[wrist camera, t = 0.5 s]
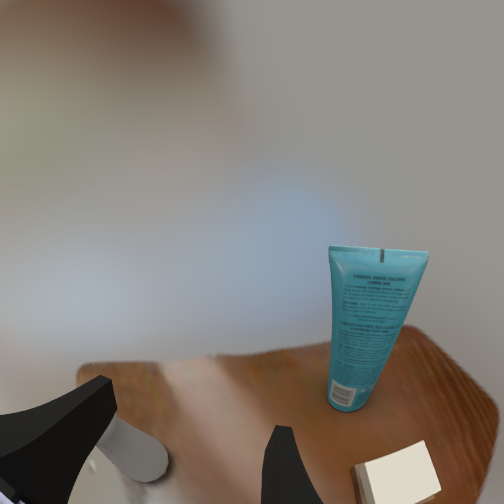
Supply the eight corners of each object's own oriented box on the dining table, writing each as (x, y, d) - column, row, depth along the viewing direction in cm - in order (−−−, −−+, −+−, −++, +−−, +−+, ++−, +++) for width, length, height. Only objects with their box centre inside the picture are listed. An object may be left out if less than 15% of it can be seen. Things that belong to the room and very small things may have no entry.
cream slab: (429, 494, 12) (441, 489, 10) (370, 520, 12) (379, 518, 10) (413, 448, 17) (423, 440, 16) (358, 469, 17) (364, 463, 16)
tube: (375, 377, 28) (418, 234, 18) (378, 411, 24) (440, 269, 14) (316, 377, 29) (327, 232, 20) (313, 412, 25) (330, 269, 16)
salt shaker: (185, 472, 20) (126, 425, 13) (143, 494, 17) (64, 454, 10) (158, 434, 24) (101, 370, 17) (120, 454, 21) (49, 396, 14)
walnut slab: (424, 501, 12) (434, 497, 11) (359, 525, 13) (365, 525, 11) (410, 451, 18) (419, 443, 17) (349, 470, 19) (354, 465, 17)
